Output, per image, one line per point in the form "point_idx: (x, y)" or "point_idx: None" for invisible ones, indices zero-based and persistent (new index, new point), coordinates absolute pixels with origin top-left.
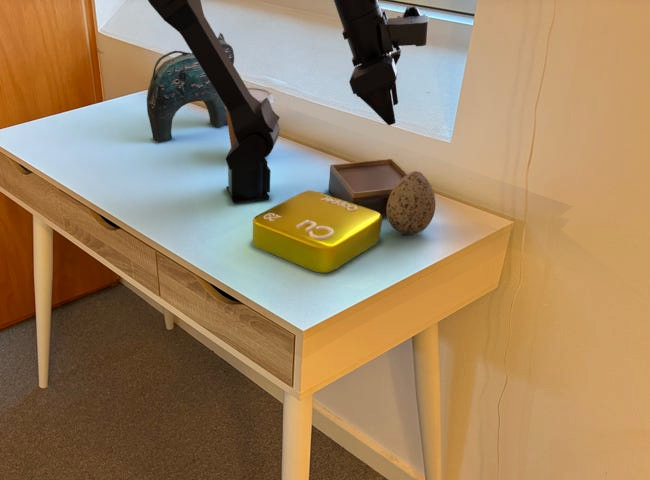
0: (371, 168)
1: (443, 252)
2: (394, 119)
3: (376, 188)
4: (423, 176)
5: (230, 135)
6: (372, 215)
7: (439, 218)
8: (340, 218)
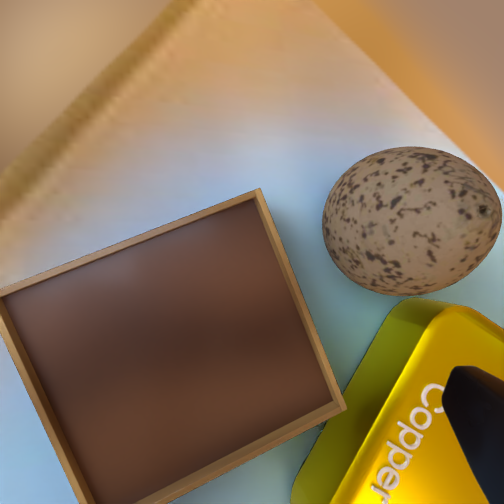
0: (68, 368)
1: (441, 143)
2: (499, 380)
3: (258, 335)
4: (481, 183)
5: None
6: (465, 333)
7: (261, 135)
8: None
